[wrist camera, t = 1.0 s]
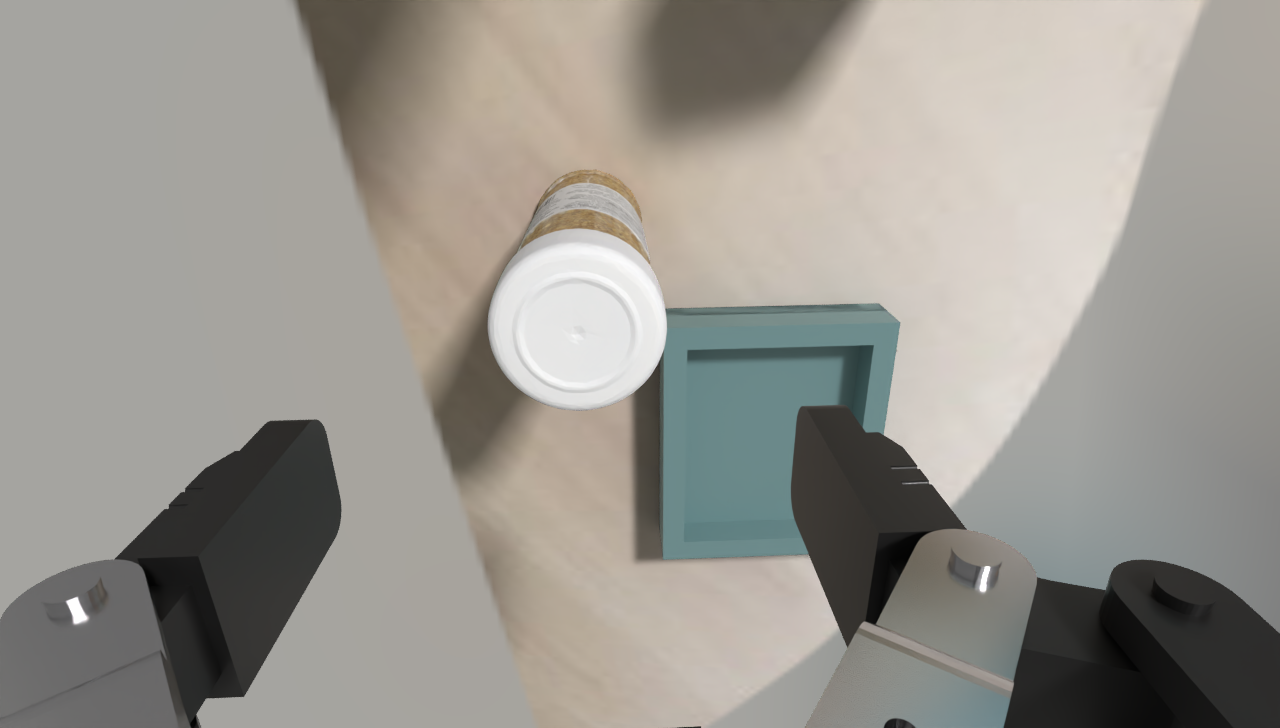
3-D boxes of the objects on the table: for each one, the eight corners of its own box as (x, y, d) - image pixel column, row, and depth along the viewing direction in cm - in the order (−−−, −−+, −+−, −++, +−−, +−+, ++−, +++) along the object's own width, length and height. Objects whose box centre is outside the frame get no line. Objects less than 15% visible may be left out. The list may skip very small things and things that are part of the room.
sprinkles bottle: (590, 293, 31) (580, 448, 18) (512, 221, 29) (445, 337, 17) (665, 220, 30) (706, 333, 17) (587, 141, 28) (573, 204, 16)
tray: (659, 308, 31) (663, 328, 29) (878, 303, 32) (900, 322, 29) (659, 527, 36) (663, 559, 34) (849, 521, 36) (865, 551, 34)
